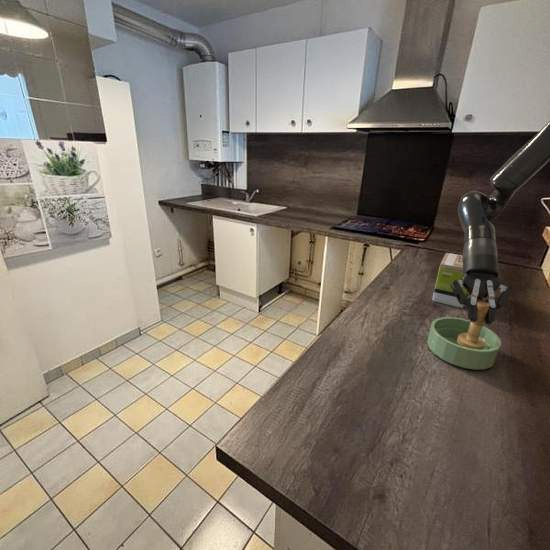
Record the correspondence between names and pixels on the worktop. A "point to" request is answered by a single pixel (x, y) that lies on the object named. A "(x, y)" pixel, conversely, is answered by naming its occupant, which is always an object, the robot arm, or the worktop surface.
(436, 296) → the tea box
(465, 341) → the brown round-based rod
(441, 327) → the bowl
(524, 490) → the worktop surface
